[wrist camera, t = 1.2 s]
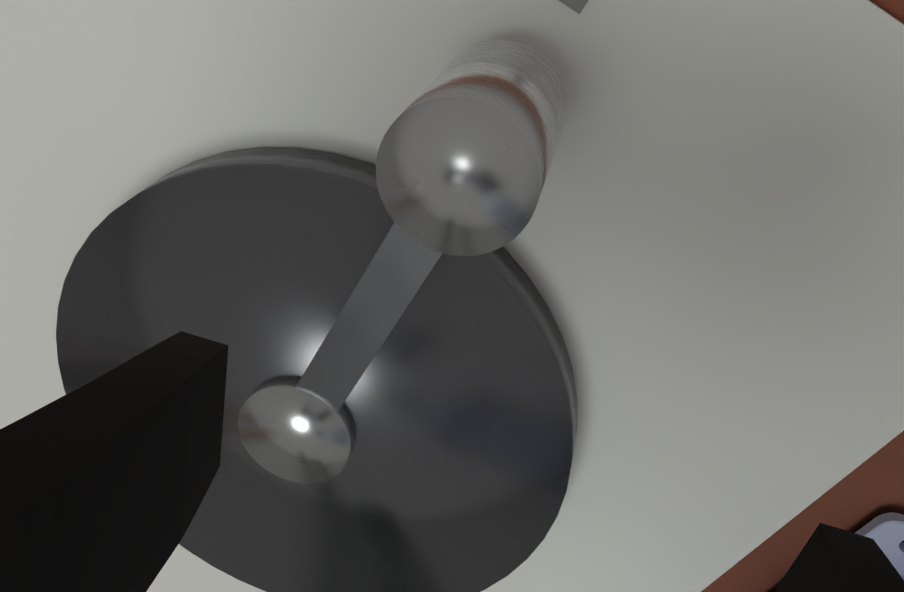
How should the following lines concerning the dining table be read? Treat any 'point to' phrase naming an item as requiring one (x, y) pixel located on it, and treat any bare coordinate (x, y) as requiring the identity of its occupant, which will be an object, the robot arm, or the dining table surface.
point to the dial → (359, 339)
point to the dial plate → (542, 227)
